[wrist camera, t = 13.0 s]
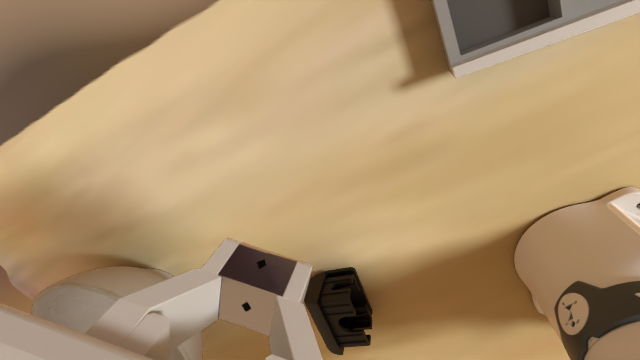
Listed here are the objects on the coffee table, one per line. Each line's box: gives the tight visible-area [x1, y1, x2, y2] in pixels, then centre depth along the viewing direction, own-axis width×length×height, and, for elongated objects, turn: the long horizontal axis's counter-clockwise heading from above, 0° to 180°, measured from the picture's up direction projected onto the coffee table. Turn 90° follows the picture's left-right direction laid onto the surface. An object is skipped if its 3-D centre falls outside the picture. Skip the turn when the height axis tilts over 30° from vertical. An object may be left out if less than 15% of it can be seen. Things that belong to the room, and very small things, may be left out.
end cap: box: [304, 267, 372, 355], centre depth 48 cm, size 10×7×7 cm
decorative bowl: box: [31, 266, 203, 360], centre depth 55 cm, size 27×27×12 cm
